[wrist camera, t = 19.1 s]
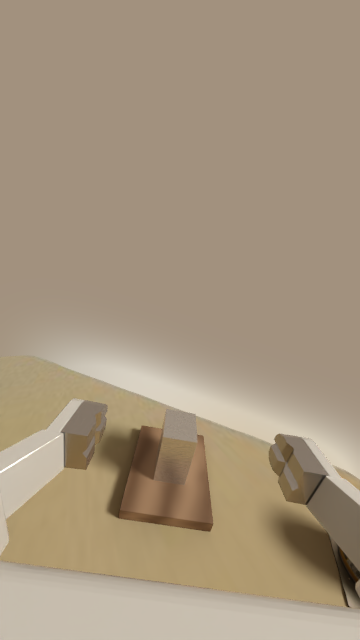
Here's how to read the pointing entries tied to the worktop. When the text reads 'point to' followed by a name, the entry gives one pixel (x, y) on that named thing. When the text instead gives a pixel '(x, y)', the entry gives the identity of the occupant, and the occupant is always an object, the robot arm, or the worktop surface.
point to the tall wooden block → (176, 447)
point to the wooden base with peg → (166, 489)
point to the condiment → (347, 575)
